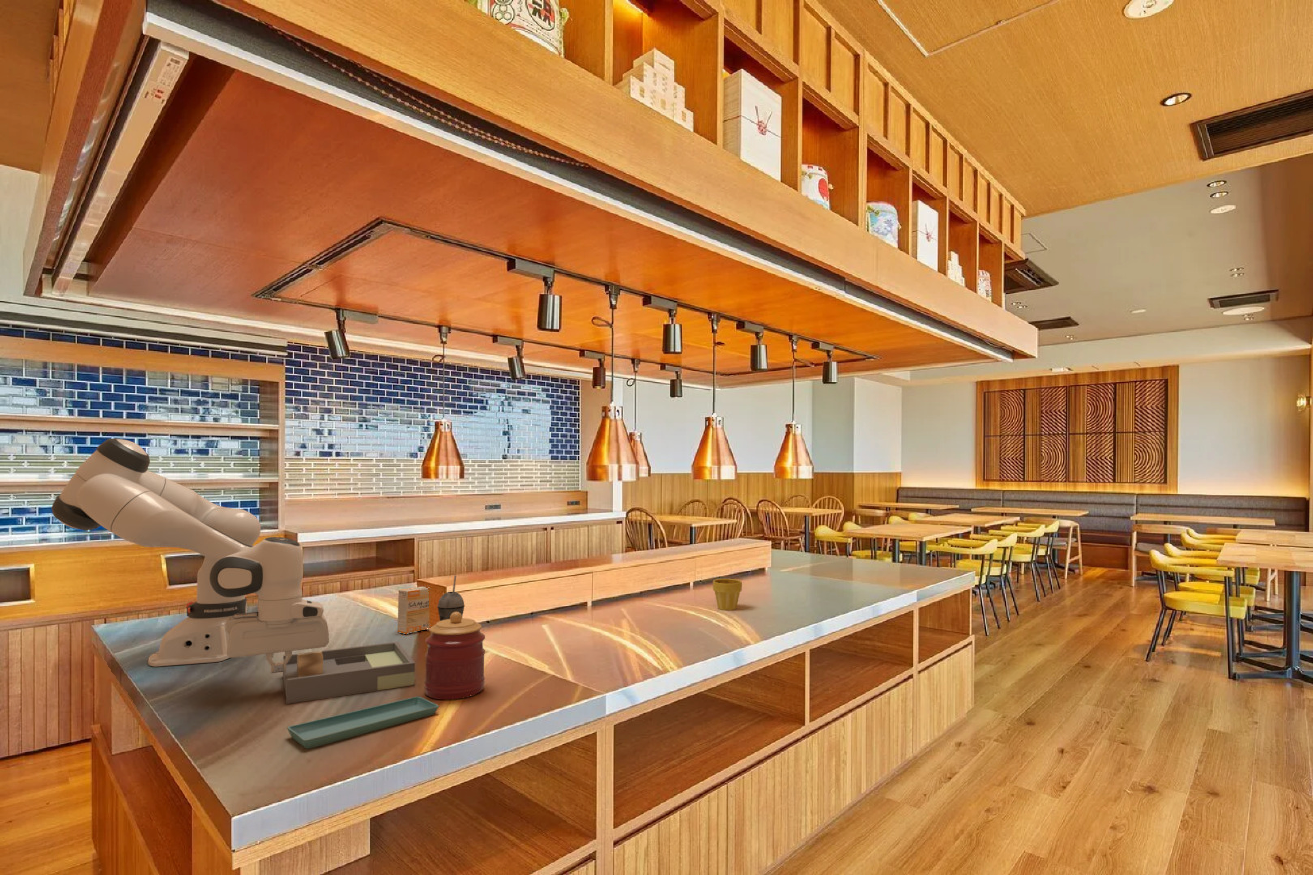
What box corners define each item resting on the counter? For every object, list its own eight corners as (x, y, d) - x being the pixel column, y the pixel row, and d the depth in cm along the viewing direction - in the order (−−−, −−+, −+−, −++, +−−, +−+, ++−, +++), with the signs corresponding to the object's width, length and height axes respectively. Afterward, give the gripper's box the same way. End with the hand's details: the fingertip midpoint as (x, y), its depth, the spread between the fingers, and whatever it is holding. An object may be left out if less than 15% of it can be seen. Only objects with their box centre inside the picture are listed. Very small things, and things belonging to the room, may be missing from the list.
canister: (427, 704, 146) (428, 620, 147) (421, 686, 158) (423, 608, 158) (489, 696, 151) (490, 615, 152) (479, 679, 163) (480, 604, 164)
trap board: (286, 704, 146) (287, 680, 146) (282, 676, 164) (283, 655, 165) (414, 684, 159) (414, 662, 159) (397, 661, 178) (397, 641, 178)
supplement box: (406, 635, 205) (406, 591, 205) (396, 633, 208) (397, 589, 208) (430, 630, 211) (430, 587, 212) (420, 628, 214) (421, 585, 215)
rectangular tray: (418, 705, 147) (418, 693, 147) (439, 716, 140) (440, 703, 140) (285, 740, 128) (285, 726, 128) (303, 754, 121) (304, 740, 121)
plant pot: (743, 611, 240) (743, 583, 241) (713, 611, 240) (713, 583, 241) (740, 605, 251) (740, 578, 251) (711, 605, 251) (711, 578, 251)
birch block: (298, 677, 154) (298, 659, 154) (296, 671, 159) (297, 653, 159) (322, 674, 157) (323, 656, 157) (320, 668, 161) (321, 651, 161)
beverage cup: (431, 648, 190) (432, 575, 191) (455, 643, 195) (456, 572, 196) (445, 653, 185) (446, 578, 186) (469, 648, 191) (470, 575, 191)
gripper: (225, 617, 147) (223, 682, 147) (330, 607, 157) (329, 669, 157) (226, 611, 153) (224, 675, 152) (328, 603, 163) (326, 662, 162)
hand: (278, 671), depth 154 cm, fingers closed
